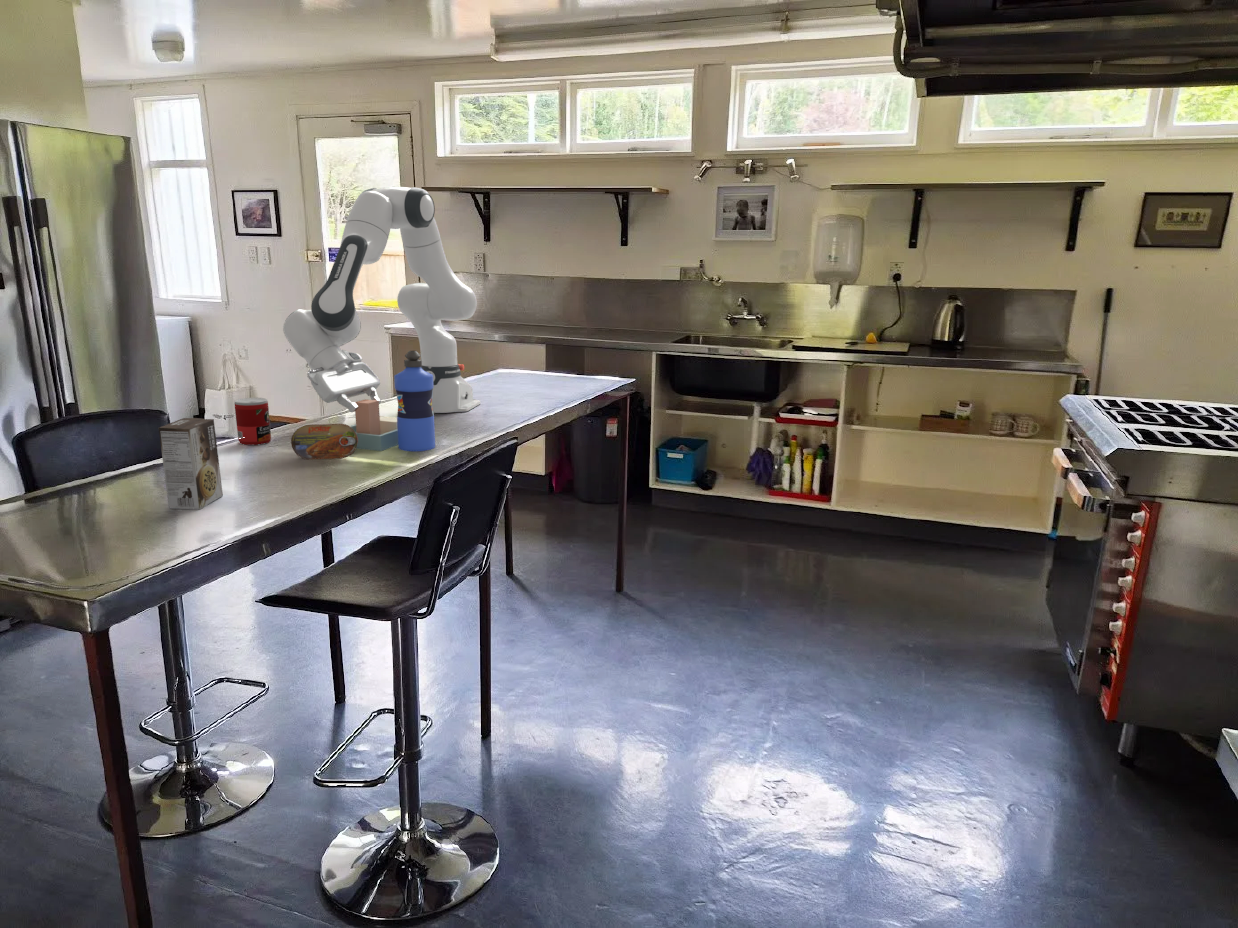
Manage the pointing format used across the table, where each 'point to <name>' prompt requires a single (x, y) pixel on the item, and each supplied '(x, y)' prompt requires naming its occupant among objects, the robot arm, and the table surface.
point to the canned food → (252, 421)
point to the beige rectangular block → (387, 424)
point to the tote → (376, 440)
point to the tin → (324, 441)
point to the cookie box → (190, 463)
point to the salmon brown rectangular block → (368, 417)
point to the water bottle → (414, 406)
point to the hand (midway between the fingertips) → (367, 407)
